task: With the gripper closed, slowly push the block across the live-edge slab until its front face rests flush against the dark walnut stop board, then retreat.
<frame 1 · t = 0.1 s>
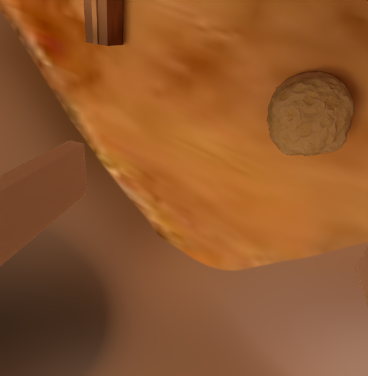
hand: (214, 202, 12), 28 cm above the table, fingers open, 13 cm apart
decorative object: (304, 109, 35), on the table
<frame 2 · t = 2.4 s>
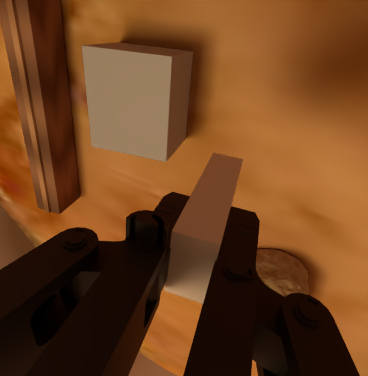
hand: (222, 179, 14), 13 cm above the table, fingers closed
block: (154, 92, 27), on the table
decorative object: (267, 274, 34), on the table
walnut board: (55, 73, 28), on the table
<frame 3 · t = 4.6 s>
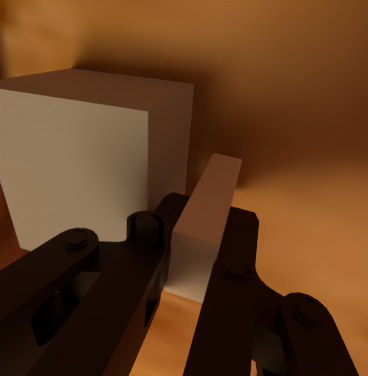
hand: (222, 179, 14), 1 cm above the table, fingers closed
block: (132, 146, 16), on the table, touching gripper
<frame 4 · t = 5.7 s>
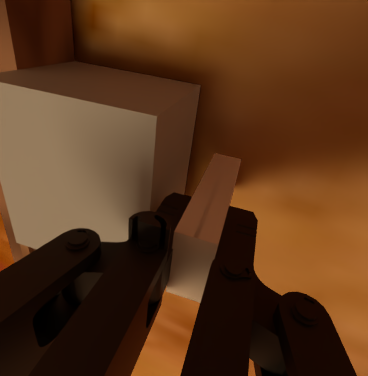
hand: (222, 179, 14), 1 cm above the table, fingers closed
block: (133, 144, 16), on the table, touching gripper, walnut board
walnut board: (58, 123, 17), on the table
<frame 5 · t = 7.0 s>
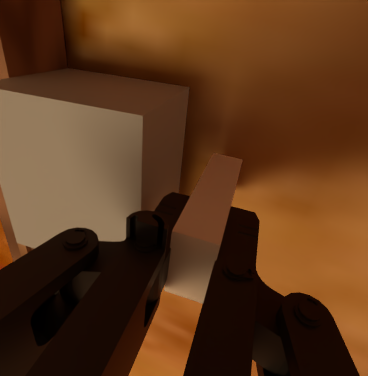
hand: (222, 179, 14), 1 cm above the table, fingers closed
block: (128, 146, 17), on the table
walnut board: (54, 128, 17), on the table
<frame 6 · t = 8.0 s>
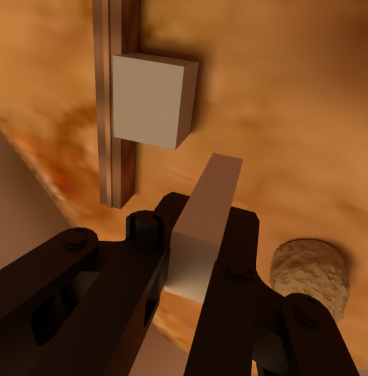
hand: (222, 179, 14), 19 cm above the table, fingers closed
block: (165, 94, 32), on the table
decorative object: (304, 263, 38), on the table
walnut board: (125, 85, 33), on the table
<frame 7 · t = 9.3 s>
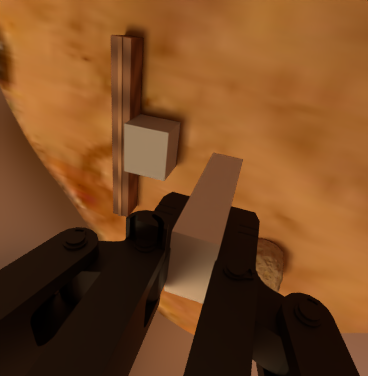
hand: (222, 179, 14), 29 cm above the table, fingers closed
block: (158, 140, 47), on the table
decorative object: (258, 256, 53), on the table
walnut board: (131, 133, 48), on the table
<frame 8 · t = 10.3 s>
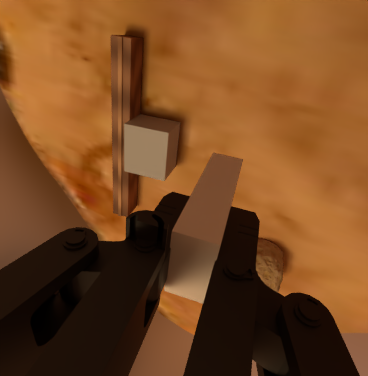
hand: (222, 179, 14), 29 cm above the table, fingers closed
block: (158, 140, 47), on the table
decorative object: (258, 255, 53), on the table
walnut board: (131, 133, 48), on the table
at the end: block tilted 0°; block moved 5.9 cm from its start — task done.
